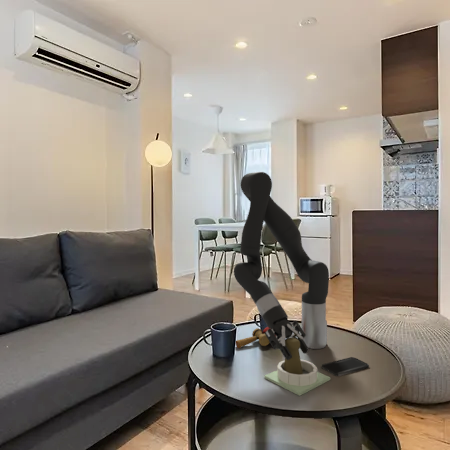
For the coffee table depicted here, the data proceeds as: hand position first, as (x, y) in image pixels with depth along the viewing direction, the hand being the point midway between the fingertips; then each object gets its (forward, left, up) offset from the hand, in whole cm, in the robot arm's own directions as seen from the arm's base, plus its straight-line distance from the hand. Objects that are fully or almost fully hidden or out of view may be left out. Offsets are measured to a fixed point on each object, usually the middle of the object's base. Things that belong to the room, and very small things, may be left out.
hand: (298, 355), depth 111 cm
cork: (0, -2, -7) cm, 7 cm away
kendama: (-11, -29, -8) cm, 32 cm away
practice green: (0, 0, -8) cm, 8 cm away
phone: (-19, +5, -8) cm, 21 cm away
